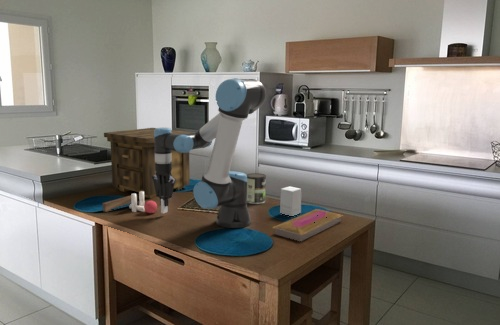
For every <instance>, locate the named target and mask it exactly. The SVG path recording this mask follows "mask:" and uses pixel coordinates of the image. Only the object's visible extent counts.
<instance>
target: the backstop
mask: <svg viewBox="0 0 500 325" xmlns="http://www.w3.org/2000/svg"><path fill="white" fill-rule="evenodd" d="M136 197H137V203H138V202H139V201H138V199H139V198H138V194H136ZM129 203H131V195H127V196H123V197H120V198H116V199H113V200H109V201H105V202H102V211H103V212H105V213H107V212H110V211H112V210H111V209H113V208H116V207H119V206H123V205H126V204H129Z"/></svg>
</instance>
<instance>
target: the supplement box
mask: <svg viewBox="0 0 500 325" xmlns="http://www.w3.org/2000/svg"><path fill="white" fill-rule="evenodd" d="M279 201H280V205H279V206H280V207H279V211H280V212H279V214H280V213H282V214H285V215H289V216H294V215H297V214H299V213H301V214H302V188H299V187H294V186H290V185H289V186H285V187H282V188H280V199H279ZM282 214H281V215H282ZM285 215H284V216H285ZM289 216H288V217H289ZM297 216H298V215H297ZM294 217H295V216H294Z"/></svg>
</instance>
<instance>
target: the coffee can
mask: <svg viewBox="0 0 500 325" xmlns="http://www.w3.org/2000/svg"><path fill="white" fill-rule="evenodd" d="M246 175H247V182H248V183H247V204H252V205H261V204H265V203H266V186H267V185H266V183H267V182H266V181H267V175H266V174H264V173H259V172H258V173H256V172H254V173H253V172H252V173H246Z"/></svg>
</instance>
